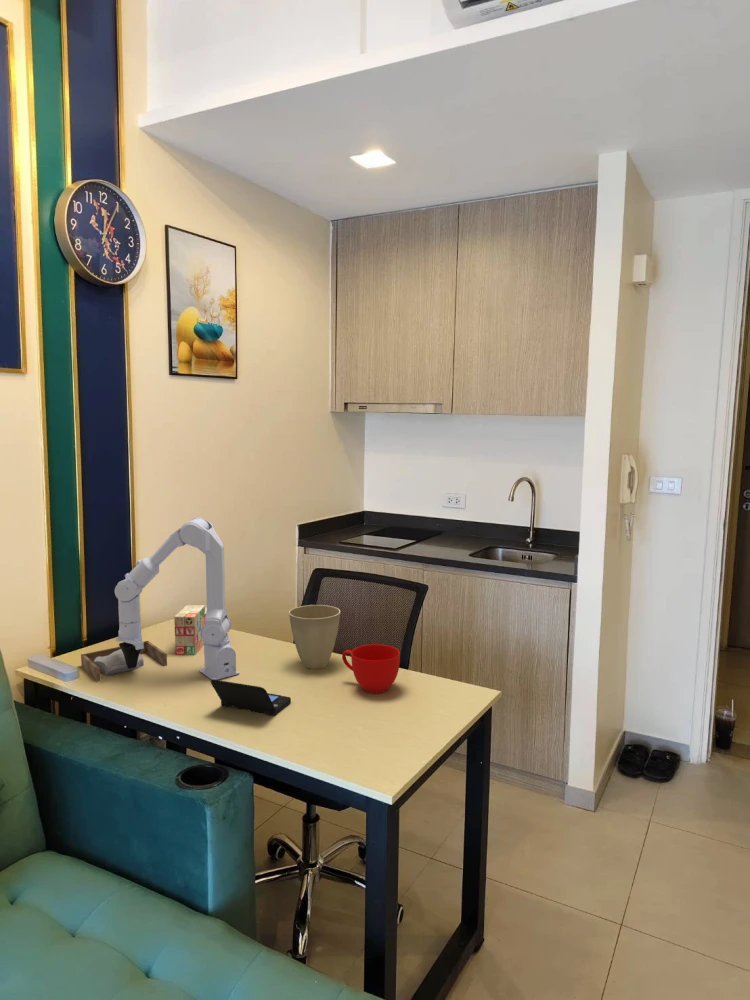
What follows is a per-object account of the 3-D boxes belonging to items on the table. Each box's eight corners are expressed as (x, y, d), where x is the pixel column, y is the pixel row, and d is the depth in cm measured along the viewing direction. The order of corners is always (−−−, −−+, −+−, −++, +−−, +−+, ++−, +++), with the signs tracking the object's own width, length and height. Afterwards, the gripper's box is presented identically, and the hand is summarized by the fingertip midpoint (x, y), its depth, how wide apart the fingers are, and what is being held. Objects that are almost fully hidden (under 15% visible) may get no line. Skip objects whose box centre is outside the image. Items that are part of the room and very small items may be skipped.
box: (167, 665, 199) (166, 653, 198) (97, 681, 187) (96, 669, 186) (148, 651, 210) (147, 640, 210) (81, 666, 198) (80, 654, 198)
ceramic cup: (355, 673, 193) (355, 638, 192) (408, 685, 185) (408, 649, 183) (329, 688, 182) (329, 652, 181) (384, 702, 174) (384, 664, 172)
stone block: (147, 671, 200) (128, 657, 205) (148, 656, 198) (128, 643, 204) (110, 685, 190) (90, 670, 196) (110, 670, 189) (91, 655, 195)
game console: (293, 702, 174) (292, 668, 173) (264, 725, 161) (264, 688, 160) (241, 693, 180) (240, 660, 178) (209, 714, 167) (208, 678, 166)
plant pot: (351, 664, 200) (351, 611, 198) (312, 678, 190) (312, 622, 188) (317, 651, 210) (316, 601, 208) (279, 664, 200) (278, 611, 198)
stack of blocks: (195, 633, 229) (194, 597, 227) (213, 633, 229) (212, 597, 227) (175, 655, 208) (173, 615, 206) (195, 655, 207) (194, 616, 206)
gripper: (106, 617, 195) (109, 663, 196) (124, 629, 184) (126, 678, 185) (131, 612, 199) (133, 657, 201) (150, 624, 188) (152, 672, 190)
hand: (131, 667), depth 193 cm, fingers closed
